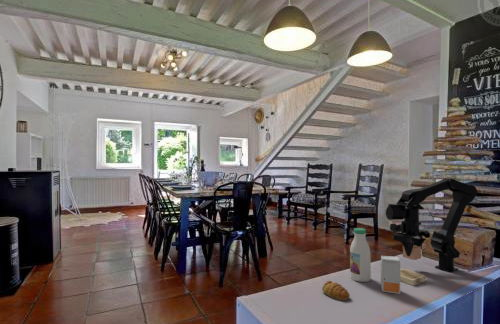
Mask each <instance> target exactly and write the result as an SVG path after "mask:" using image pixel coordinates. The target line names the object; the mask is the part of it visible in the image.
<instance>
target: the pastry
mask: <svg viewBox="0 0 500 324" xmlns="http://www.w3.org/2000/svg"><path fill="white" fill-rule="evenodd" d="M322 292H323V294H324V295H327V296H328V297H330V298H332V299H336V300H338V301H347V300H348V299H349V298H350V296H351V295H350V293H349V292H348V290H347V289H346V288H345V287H343V286H342V285H341V284H339V283H337V282H333V281H331V280H328V281H326V282H325V283H324V284H323V285H322Z"/></svg>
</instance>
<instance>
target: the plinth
mask: <svg viewBox="0 0 500 324" xmlns="http://www.w3.org/2000/svg"><path fill="white" fill-rule="evenodd" d="M426 276H427V275H424V274H422V273H419V272H415V271H412V270H409V269H406V268H400V283H404V284H407V285H410V286H416V285H418V284H421V283H423V282H426V279H427V277H426Z"/></svg>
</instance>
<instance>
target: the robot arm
mask: <svg viewBox="0 0 500 324" xmlns="http://www.w3.org/2000/svg"><path fill="white" fill-rule="evenodd" d="M446 190H448V191H450V192H452V194H451V195H452V196H451V197H452V203H451V206H450V208H449V210H448V212H447V214H446V218H445V220H444V221H443V224H442V227H440V230H438V231H433V233H432V236H431V233H430V231H429V230H425V229H421V228H420V226H421V225H422V222H421V221H420V210H425V208H424V206H422V205H421V203H423V202H424V201H425V200H426V199H427V198H428V197H430V196H433V195H436V194H438V193H441V192H443V191H446ZM478 193H479V192H478V189H477V187H476V185H473V184H467V183H465V182H461V181H459V180H456V179H454V178H449V177H447V178H442V179H441V180H438V181H436V182H432V183H430V184H429V185H426V186H422V187H420V188H414V189H413V188H412V189H407V190H404V191H402V193H401V196H400V197H399V199H398V200H397V202H396V203H395V204H393V203H388V206H386V210H385V216H386V219H387V220H393V221H394V220H395V221H396V220H401V223H400V224H396V222H395V223H390V224H389V230H390V231H391V232H392V233H393V234H392V240H393V241H396V242H397V241H398V242H400V244H402V247H403V246H404V249H405V252H406V254H407V256H410V254H411V251H412V248H413V245H416V246H420V247H421V248H422V247H423V244H424V242H425V241H426V239H429V240H430V245H431V247H432V249H433V251H434V253H437V254H438V265H435V266H434V267H435V269H440V270H443V271H446V272H449V273H452V272H454V271H458V270H459V268H458V267H455V259H456V258H459V257H460V255H461V252H460V251H459V250H458V249H457V248H456V247H455V245H456V241H455V240H456V239H455V233H456V230H457V228H458V226H459V224H460V221H461V219H462V216H463V214H464V213H465V210H466V207H467V205H469V204H470V203H472V202H473V201H474V200H475V198H476V196H477V195H478ZM423 237H424V238H423Z"/></svg>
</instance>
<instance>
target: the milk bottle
mask: <svg viewBox="0 0 500 324" xmlns="http://www.w3.org/2000/svg"><path fill="white" fill-rule="evenodd" d="M353 235H354V237H353V240H352V242H351V244H350V246H349V247H350V249H349V276H350V278H351V279H352V280H353V281H356V282H362V283H367V282H370V281H371V280H372V279H371V278H372V277H371V276H372V275H371V274H372V272H371V271H372V270H371V265H372V263H371V248H370V246H369V243H368V241H367V238H366V237H367V236H366V235H367V229H365V228H362V227H354V228H353Z"/></svg>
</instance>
